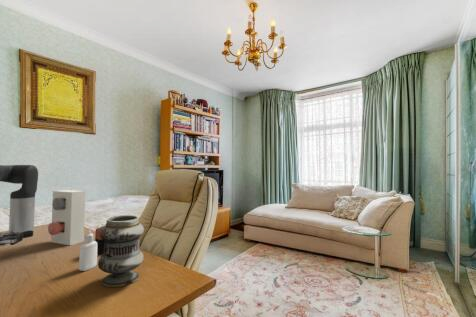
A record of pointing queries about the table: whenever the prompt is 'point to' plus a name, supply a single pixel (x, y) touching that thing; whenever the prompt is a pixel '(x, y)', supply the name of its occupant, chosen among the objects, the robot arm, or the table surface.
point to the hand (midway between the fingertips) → (31, 233)
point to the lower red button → (55, 228)
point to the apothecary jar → (121, 250)
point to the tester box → (70, 217)
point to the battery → (99, 241)
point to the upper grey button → (58, 203)
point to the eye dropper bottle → (88, 253)
